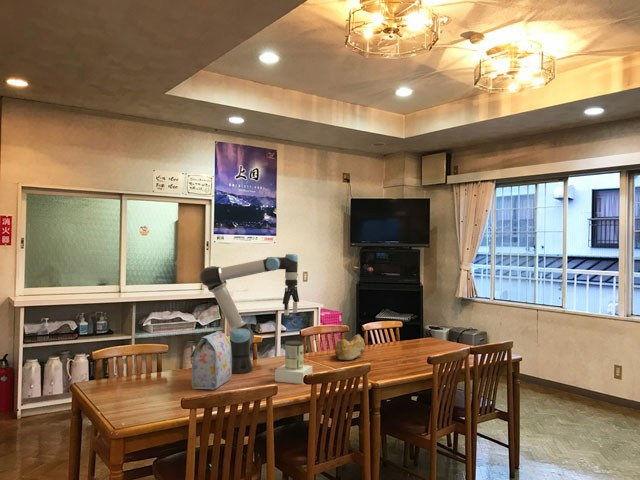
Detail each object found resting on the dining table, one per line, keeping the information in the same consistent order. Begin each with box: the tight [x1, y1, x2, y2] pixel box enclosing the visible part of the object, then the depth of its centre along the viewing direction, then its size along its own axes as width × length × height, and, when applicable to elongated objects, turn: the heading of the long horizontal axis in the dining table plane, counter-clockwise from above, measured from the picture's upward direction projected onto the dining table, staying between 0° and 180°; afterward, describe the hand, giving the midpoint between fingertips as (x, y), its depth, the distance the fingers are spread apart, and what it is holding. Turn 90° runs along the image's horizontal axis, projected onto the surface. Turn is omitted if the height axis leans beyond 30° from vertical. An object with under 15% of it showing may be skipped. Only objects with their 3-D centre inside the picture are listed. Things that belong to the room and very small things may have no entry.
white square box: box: [274, 363, 313, 385], centre depth 266 cm, size 16×16×6 cm
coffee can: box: [284, 340, 305, 370], centre depth 266 cm, size 10×10×14 cm
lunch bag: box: [189, 330, 233, 391], centre depth 253 cm, size 22×17×26 cm
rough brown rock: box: [334, 333, 366, 361], centre depth 321 cm, size 23×17×15 cm
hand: (290, 313), depth 296 cm, fingers open, 13 cm apart
